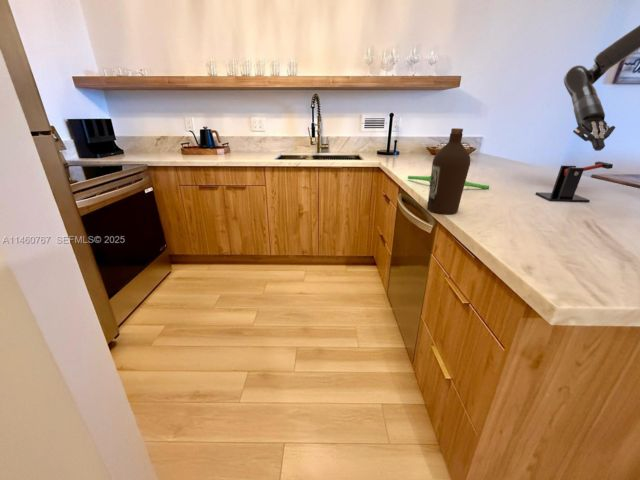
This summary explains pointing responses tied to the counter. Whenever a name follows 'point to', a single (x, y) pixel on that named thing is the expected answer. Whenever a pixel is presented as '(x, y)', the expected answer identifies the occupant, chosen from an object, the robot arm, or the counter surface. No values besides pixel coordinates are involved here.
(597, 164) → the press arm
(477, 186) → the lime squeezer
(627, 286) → the counter surface
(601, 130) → the robot arm
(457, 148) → the olive oil
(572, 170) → the bracket
